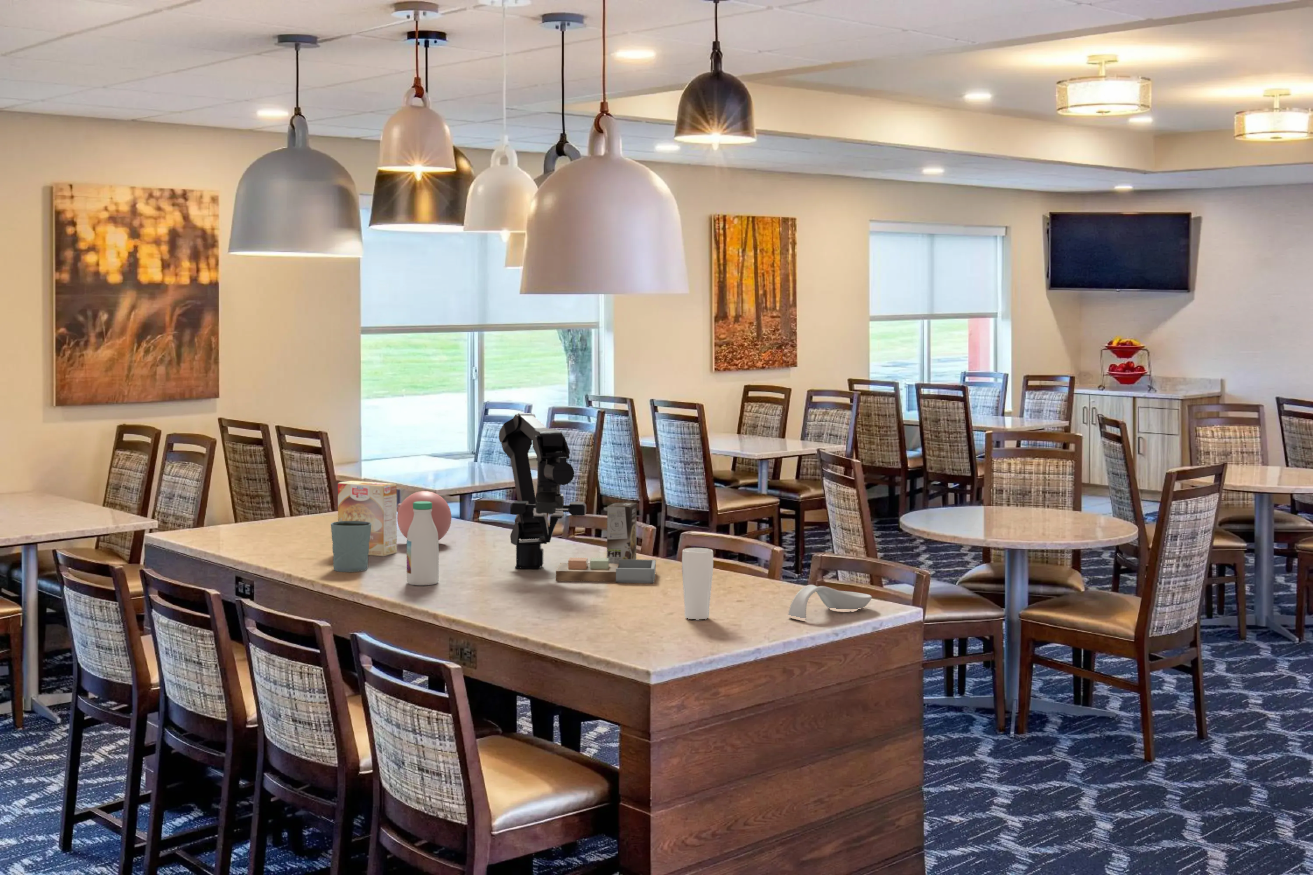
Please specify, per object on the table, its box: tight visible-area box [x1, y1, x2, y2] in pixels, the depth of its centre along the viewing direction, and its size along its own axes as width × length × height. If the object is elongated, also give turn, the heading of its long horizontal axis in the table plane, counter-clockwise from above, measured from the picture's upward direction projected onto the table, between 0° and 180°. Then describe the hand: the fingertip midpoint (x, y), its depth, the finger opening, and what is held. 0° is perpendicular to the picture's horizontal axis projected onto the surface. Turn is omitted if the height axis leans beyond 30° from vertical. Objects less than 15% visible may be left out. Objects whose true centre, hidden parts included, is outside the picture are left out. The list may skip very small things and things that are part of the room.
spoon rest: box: [787, 584, 873, 619], centre depth 310 cm, size 24×12×7 cm, turn 137°
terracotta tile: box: [567, 557, 589, 569], centre depth 352 cm, size 4×4×2 cm
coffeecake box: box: [337, 480, 398, 557], centre depth 385 cm, size 15×7×20 cm, turn 68°
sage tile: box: [589, 557, 609, 569], centre depth 352 cm, size 4×4×2 cm
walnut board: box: [555, 562, 619, 583], centre depth 352 cm, size 15×12×2 cm
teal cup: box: [330, 521, 371, 573], centre depth 359 cm, size 10×10×12 cm
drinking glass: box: [681, 547, 714, 621], centre depth 303 cm, size 7×7×15 cm
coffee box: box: [606, 502, 638, 564], centre depth 371 cm, size 9×6×16 cm
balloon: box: [397, 490, 452, 542], centre depth 403 cm, size 15×20×15 cm
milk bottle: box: [406, 501, 440, 586], centre depth 340 cm, size 8×8×20 cm
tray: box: [615, 558, 657, 584], centre depth 352 cm, size 9×14×4 cm
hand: (548, 542), depth 352 cm, fingers closed
